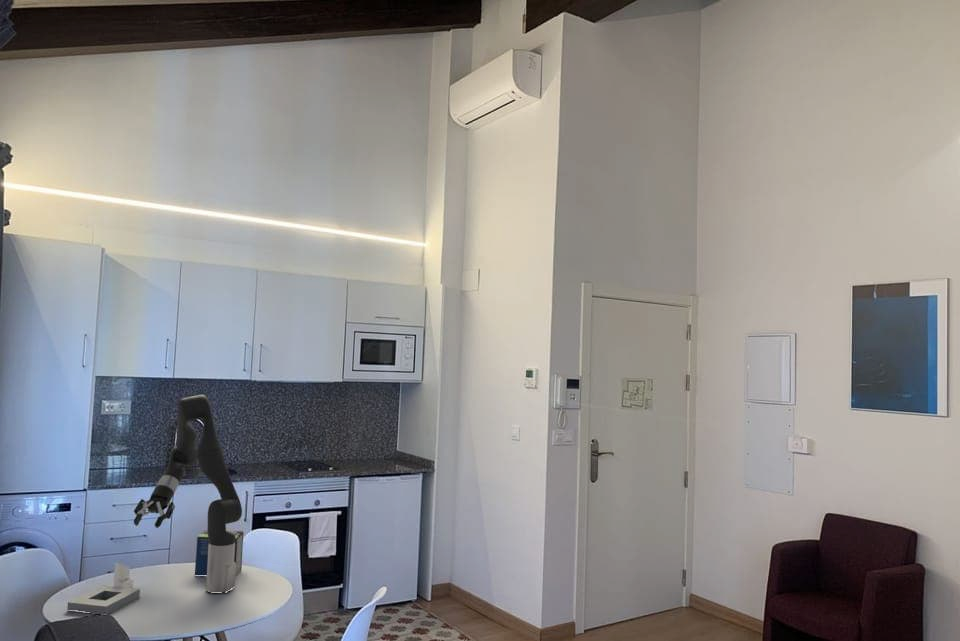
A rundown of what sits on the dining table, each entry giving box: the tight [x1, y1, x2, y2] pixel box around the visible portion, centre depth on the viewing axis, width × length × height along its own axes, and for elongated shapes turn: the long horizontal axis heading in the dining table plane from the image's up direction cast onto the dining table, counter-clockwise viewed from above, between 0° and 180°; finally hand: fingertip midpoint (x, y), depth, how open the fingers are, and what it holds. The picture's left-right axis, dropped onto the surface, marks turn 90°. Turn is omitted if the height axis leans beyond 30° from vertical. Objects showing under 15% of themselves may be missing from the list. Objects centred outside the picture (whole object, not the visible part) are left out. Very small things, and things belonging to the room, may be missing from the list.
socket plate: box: [66, 585, 141, 615], centre depth 247 cm, size 14×18×3 cm
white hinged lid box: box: [113, 562, 134, 588], centre depth 262 cm, size 4×10×9 cm, turn 168°
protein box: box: [194, 529, 244, 576], centre depth 286 cm, size 10×15×16 cm
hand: (145, 525), depth 275 cm, fingers open, 8 cm apart
